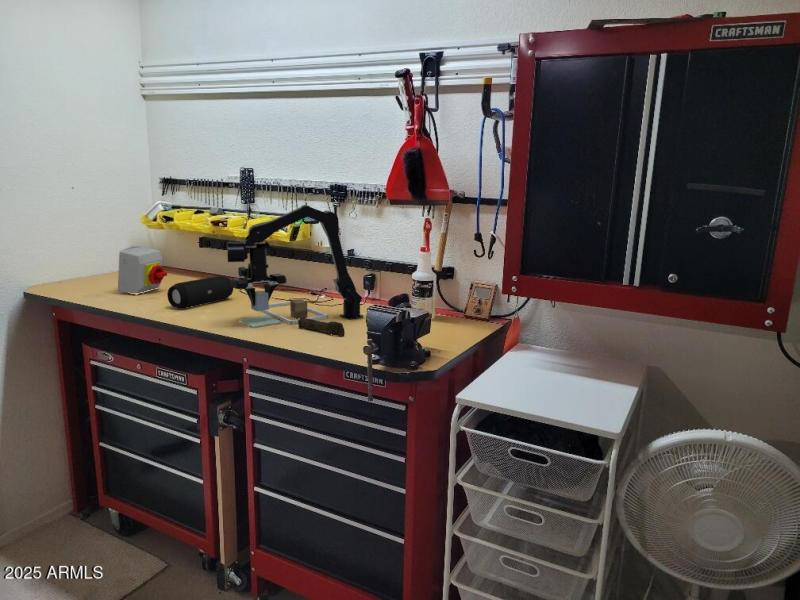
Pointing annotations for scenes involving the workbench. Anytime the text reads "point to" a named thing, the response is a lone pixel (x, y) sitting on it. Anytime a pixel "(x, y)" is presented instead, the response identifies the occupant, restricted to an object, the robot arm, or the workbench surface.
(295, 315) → the plain box
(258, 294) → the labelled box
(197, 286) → the portable speaker
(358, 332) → the workbench surface
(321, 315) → the flat rectangular frame
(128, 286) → the electrical switch box
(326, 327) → the hand tool
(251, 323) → the mat
